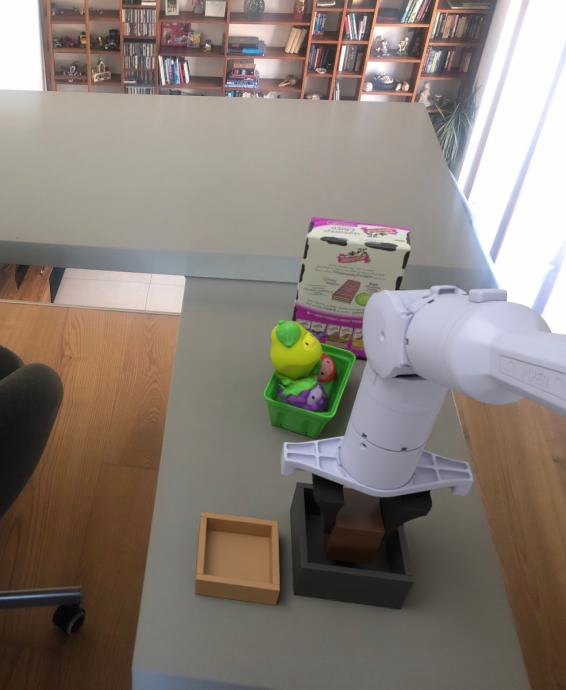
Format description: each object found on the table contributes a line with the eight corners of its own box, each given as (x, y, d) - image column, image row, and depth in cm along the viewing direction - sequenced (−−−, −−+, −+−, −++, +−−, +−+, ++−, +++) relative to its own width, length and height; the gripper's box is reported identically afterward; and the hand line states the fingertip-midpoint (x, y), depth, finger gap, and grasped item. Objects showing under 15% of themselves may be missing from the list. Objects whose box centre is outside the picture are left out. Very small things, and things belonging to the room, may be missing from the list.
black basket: (400, 609, 61) (414, 582, 58) (293, 594, 62) (301, 567, 59) (386, 521, 68) (397, 493, 65) (289, 510, 69) (297, 481, 66)
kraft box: (275, 605, 61) (279, 590, 60) (194, 594, 62) (196, 579, 61) (274, 536, 67) (278, 520, 65) (199, 526, 68) (201, 511, 66)
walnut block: (371, 564, 62) (385, 532, 58) (325, 559, 62) (336, 526, 59) (366, 527, 65) (378, 494, 61) (322, 521, 65) (332, 488, 62)
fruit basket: (324, 451, 74) (346, 375, 67) (245, 424, 78) (257, 348, 70) (348, 385, 82) (370, 309, 75) (275, 363, 85) (289, 289, 78)
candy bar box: (378, 338, 88) (412, 226, 78) (378, 363, 85) (413, 250, 74) (289, 323, 91) (310, 213, 80) (285, 347, 87) (307, 235, 77)
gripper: (477, 396, 55) (429, 500, 64) (290, 378, 57) (268, 482, 66) (501, 465, 50) (444, 569, 58) (293, 442, 52) (269, 546, 60)
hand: (352, 527), depth 62 cm, fingers closed on walnut block, 4 cm apart
